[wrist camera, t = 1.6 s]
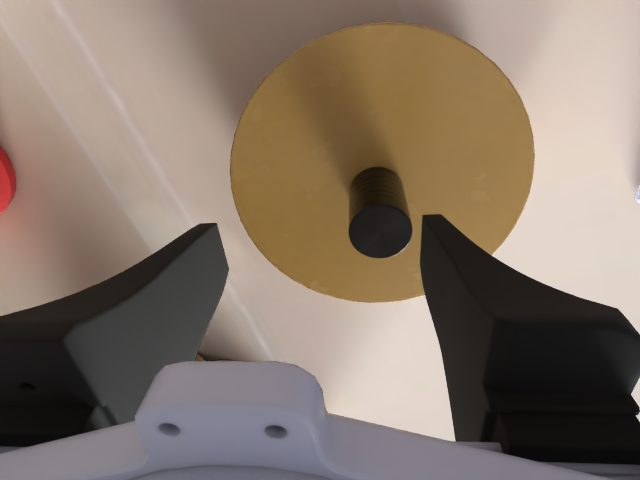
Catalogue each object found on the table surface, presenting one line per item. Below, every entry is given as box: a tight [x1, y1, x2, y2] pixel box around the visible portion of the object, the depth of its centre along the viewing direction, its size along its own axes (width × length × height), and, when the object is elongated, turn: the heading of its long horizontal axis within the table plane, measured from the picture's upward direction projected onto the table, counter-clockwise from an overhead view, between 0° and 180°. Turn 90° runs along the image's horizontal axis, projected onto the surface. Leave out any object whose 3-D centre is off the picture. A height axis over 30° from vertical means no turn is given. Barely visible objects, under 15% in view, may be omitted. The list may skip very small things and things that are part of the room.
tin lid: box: [230, 22, 535, 303], centre depth 17 cm, size 13×13×5 cm
